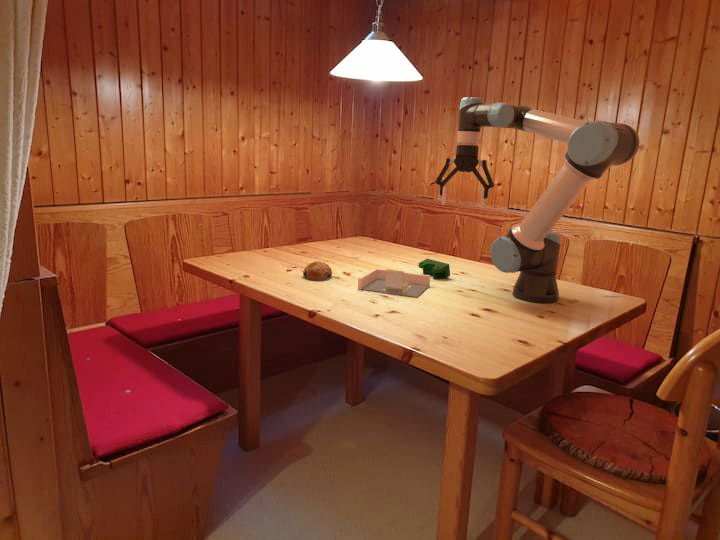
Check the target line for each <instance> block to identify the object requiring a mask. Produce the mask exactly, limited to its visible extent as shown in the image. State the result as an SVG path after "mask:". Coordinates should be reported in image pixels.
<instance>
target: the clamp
mask: <svg viewBox="0 0 720 540" xmlns="http://www.w3.org/2000/svg"><path fill="white" fill-rule="evenodd" d="M418 268H419V269H422V274H423V275H430V276H432V279H433V280H435V279H437V278H442V279H445V280H446V279H448V278H449V277H450V276H451V271H450V263H447V262H443V261H439V260H435V259H430V258H426V259H424V260H421V261H420V262H418Z"/></svg>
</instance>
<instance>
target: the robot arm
mask: <svg viewBox="0 0 720 540" xmlns="http://www.w3.org/2000/svg"><path fill="white" fill-rule="evenodd" d="M458 113H459V114H458V129H457V139H456V143H457V145H456V148H455V149H456V152H455V158H451V157H447V158H446V159H445V163H444V166H443V168H442V169H441V171H440V173H439V174H438V176H437V178H436V180H435V183H434V184H436V185H438V186H439V195H440V196H442V197H441V206H445V205H446V201H447V187H448V186H447V185H446V184H447V183H448V182H449V181H450V180H451V179H452V178H453V177H454V176H455V175H456V174H457V173H458V172H460V173H464V172H465V173H473V175H474V176H475V177H476V179H477V180H478V181H479V183H480V185H482V187H483V188H482V189H481V197H480V205H479V208H480V209H484V208H485V207H484V206H485V200H486V199H488V197H489V190H490V189H492V188H494V187H495V183H494V181H493V178H492V176H491V173H490V171H489V168H488V160H487V159H483V160H479V151H480V147H479V144H480V138H481V137H480V136H481V128H486V127H487V128H499V129H500V128H503V129H513V130H518V131H521V132H526V133H529V134H533V135H537V136H540V137H544V138H548V139H552V140H554V141H558V142H561V143H565V144H567V148H566V150H567V151H566V153H565V154H564V156H563V157H564V165H563V166H562V168H561V169H560V170H559V171H558V172H557V174H556V175H555V176H554V178H553V179H552V181H551V182H550V183H549V184H548V186H546V189H545V190H544V191H543V193H541V195H540V197H539V198H538V200H537V201H536V202H535V203H534V205H533V206H532V208H531V209H530V210H529V211H528V213H527V215H525V217H524V218H523V220H522V221H521V222H520V223H515V224H513V225H512V226H511V227H510V229H509V230H508V232H507V233H506V234H505V236H503V235H502V236H499V237H497V238H496V239H495V240H494V241H493V242H492V243H491V247H490V255H491V256H490V258H491V261H492V263H493V265H494V266H495V268H496V269H498V270H499V271H500V272H503V273H505V274H508V273H510V274H515V273H517V272H520V273H519V275H518V276H517V279H516V282H515V283H514V285H513V287H512V296H513V297H515V298H516V297H517V298H516V299H519V300H522V301H526V300H527V302H531V301H533V302H532V303H538V302H546V303H545V304H548V303H547V302H552V303H555V301H556V302H558V301H559V296H560V292H559V287H558V282H557V269H558V265H559V255H560V248H561V240H562V239H561V235H560V234H559V233H557V232H553V231H552V230H553V228H554V227H555V226H556V225H557V224H558V222H559V221H560V220H561V219H562V217H563V216H564V215H565V214H566V212H567V211H569V208H570V207H571V206H572V205H573V204H574V202H575V201H576V200H577V199H578V198H579V196H580V195H581V193H583V192H584V190H585V189H586V187H587V186H588V185H589V183H591V181H594V180H600V178H602V176H603V175H604V174H605V173H606V171H607V170H608V169H609V168H610V166H611V167H612V166H620V165H624V164H626V163H628V162H630V161H631V160H632V159H633V158H634V157H635V156H636V155H637V153H638V151H639V149H640V144H641V143H640V141H641V140H640V136H639V134H638V132H637V131H636V129H634V128H633V127H632V126H630V125H628V124H625V123H618V122H609V121H606V120H594V121H586V120H582V119H578V118H577V119H576V118H573V117H568V116H565V115H561V114H556V113H552V112H547V111H543V110H538V109H535V108H532V107H531V106H530V107H529V106H526V105H512V104H510V103H508V102H500V101H499V102H488V103H484V100H483V98H482V97H479V96H478V97H477V96H476V97H475V96H474V97H472V96H471V97H470V96H465V97H462V98H461V101H460V103H459V111H458ZM453 163H454V165H455V167H454V168H453V170H452V171H451V172H450V173H448V175H447V176H446V177H445V178H444V176H445V175H446V174H447V172H448V169H449V168H450V166H451V165H453ZM479 165H480V166H481V167H482V171H483V173H484V175H485V178H486V180H485V179H484V177H483V176H482V175H481V173H480V172H479V170H478V169H477V166H479ZM557 300H558V301H557Z"/></svg>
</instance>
